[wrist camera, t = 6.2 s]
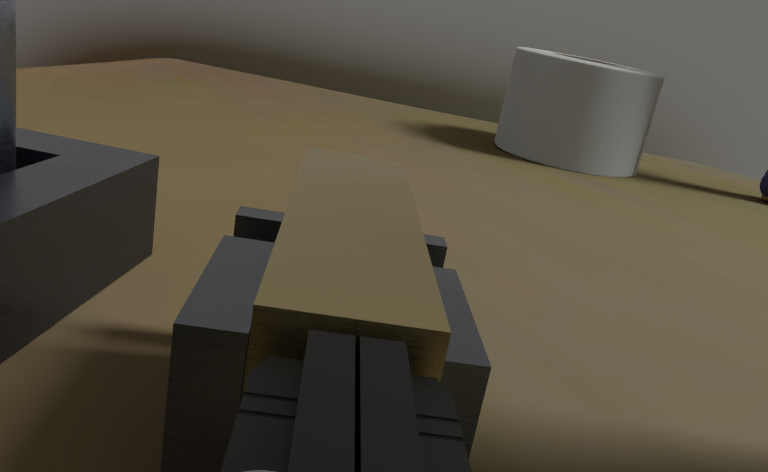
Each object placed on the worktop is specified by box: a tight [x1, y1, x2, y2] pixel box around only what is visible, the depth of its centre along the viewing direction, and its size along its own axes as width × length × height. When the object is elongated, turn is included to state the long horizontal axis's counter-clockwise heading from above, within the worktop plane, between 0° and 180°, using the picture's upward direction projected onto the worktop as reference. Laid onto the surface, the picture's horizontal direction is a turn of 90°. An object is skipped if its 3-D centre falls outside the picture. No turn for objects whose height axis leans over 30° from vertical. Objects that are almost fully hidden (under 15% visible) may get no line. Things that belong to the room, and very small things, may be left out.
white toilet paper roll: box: [495, 47, 665, 177], centre depth 76 cm, size 16×15×11 cm
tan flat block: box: [242, 147, 451, 396], centre depth 17 cm, size 12×3×8 cm, turn 2°
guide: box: [161, 206, 491, 472], centre depth 20 cm, size 9×7×5 cm
